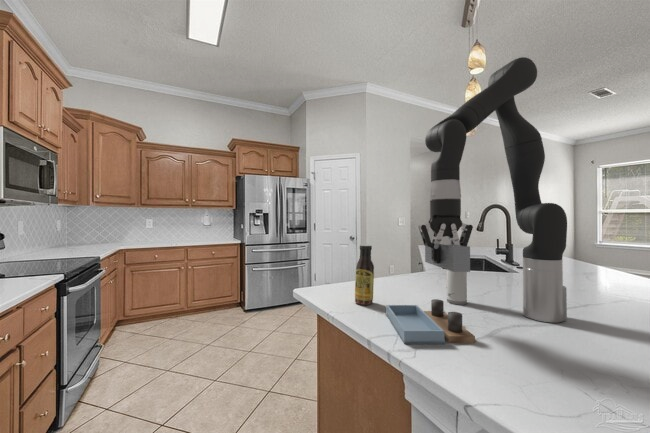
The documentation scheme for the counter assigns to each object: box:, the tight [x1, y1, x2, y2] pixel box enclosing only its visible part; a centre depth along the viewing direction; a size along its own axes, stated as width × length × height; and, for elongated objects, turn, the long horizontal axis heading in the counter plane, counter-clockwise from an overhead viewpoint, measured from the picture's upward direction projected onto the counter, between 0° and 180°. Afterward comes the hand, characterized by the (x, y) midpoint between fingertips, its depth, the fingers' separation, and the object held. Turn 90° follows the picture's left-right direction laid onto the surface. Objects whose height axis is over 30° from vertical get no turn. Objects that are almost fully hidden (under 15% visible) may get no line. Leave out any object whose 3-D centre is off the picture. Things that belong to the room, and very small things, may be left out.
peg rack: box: [423, 298, 476, 344], centre depth 74 cm, size 6×18×6 cm, turn 0°
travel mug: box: [446, 269, 468, 306], centre depth 97 cm, size 6×7×20 cm
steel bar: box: [424, 240, 471, 273], centre depth 75 cm, size 4×16×6 cm, turn 4°
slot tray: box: [385, 304, 446, 345], centre depth 74 cm, size 9×20×3 cm, turn 0°
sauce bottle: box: [354, 244, 375, 306], centre depth 97 cm, size 6×6×20 cm
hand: (445, 262), depth 75 cm, fingers closed on steel bar, 4 cm apart
